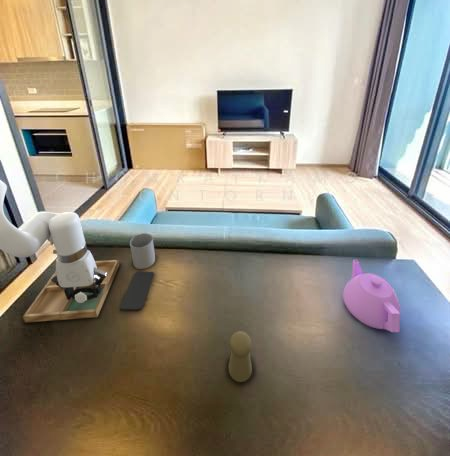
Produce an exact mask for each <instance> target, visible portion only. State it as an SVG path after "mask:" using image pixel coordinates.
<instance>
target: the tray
mask: <svg viewBox="0 0 450 456" xmlns="http://www.w3.org/2000/svg"><path fill="white" fill-rule="evenodd" d="M94 261H95V260H94ZM95 263H96V266H97V269H99V270H102V271H104V272H106V273H107V275H106V277H105V279H104V280H103V282H102V283H101V284H100V286H101V292H100V293H99V295H98V297H97V298H93V299H90V300H85V301H84V302H82V303H79V302H77V301H76V300H75V299H73V298H72V297H71V299H70V300H67V297H66V295H65V292H64V291H63V290H61V287H59V286H57V285H56V283H54V282H53V281H51V278H52V277H53V276H54V275H55V274H56V270H54V273H52V275H51V276H50V278H49V280H48V281H47V282H46V284H45V285H44V287H43V288H42V289H41V291H40V292H39V294H38V295H37V296H36V298H35V300H33V301H32V303H31V305H30V306H29V307H28V308H27V310H26V312H25V313H24V314H23V316H22V318H23V321H24V323H37V322H38V323H39V322H50V321H51V322H52V321H63V320H75V319H89V318H98V317H99V314H100V312H101V309H102V308H103V305H104V302H105V301H106V298H107V296H108V293H109V291H110V288H111V286H112V283H113V281H114V279H115V276H116V275H117V272H118V269H119V268H120V260H119V259H111V260H96V261H95ZM96 276H97V275H96ZM98 277H99V278H100V276H98ZM94 282H96V281H95V280H94ZM73 288H74V290H76V289H79V288H93V286H92V285H89V286H81V287H73ZM83 293H84V294H85V295H92V294H93V293H88V292H83ZM76 295H77V294H76Z"/></svg>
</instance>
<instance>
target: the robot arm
mask: <svg viewBox="0 0 450 456" xmlns="http://www.w3.org/2000/svg"><path fill="white" fill-rule="evenodd" d="M7 191H8V185H7V184H6V183H5V182H4V181H3V180H1V179H0V250H1V251H3V253H6V254H8V255H10V256H13V257H16V258H22V259H23V258H29V257H31V256H33V255H35V254H36V253H37V252H38V251H39V250H40V249H41V248H42V247H43V246H44V244H45V243H46V241H47V240H48V239H49V238H51V239H52V242H53V246H54V249H53V250H52V254H53V255H56V256H57V257H56V259H55V271H56V274H55V275H54V276H53V277H52V276H51V277H52V278H51V277H50V278H51V281H53V282H54V283H56V285H57V286H59V287H61V290H63V291H64V292H65V295H66V297H67V300H70V299H71V297H72V294H71V293H72V291H74V288H73V287H81V286H89V285H92V286H93V294H94V297H95V298H97V297H98V295H99V293H100V292H101V286H100V284H101V283H102V282H103V280H104V279H105V277H106V275H107V273H106V272H104V271H102V270H99V269H97V266H96V263H95V259H94V255H93V254H92V253H91V250H89V249H88V247H87V243H86V239H85V234H84V231H83V227H82V223H81V219H80V216H79V214H77V212H74V211H64V212H52V211H45V210H44V211H43V210H41V211H37V212H34V213H33V214H32V215H30V216H29V217H28V218H27V219H26V220H25V221H24V222H23V223H22V224H21V225H20V226H19V227H16V226H15V225H14V224H13V223H12V222H10V221H9V220H8V218H7V216H6V214H5V211H4V201H5V196H6V193H7ZM96 275H97V276H96ZM98 276H100V278H99V277H98ZM94 280H95V281H96V282H94Z"/></svg>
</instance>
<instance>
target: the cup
mask: <svg viewBox="0 0 450 456" xmlns="http://www.w3.org/2000/svg"><path fill="white" fill-rule="evenodd" d="M129 246H130V253H131V258H132V264H133V267H134V268H136V269H138V270H144V269H148V268H150V267H151V266H152V265H154V263H155V262H156V254H155V246H154V237H153V236H152V234H150V233H147V232H145V233H144V232H143V233H139V234H136V235H135V236H133V237H132V238H131V239H130V240H129Z"/></svg>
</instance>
